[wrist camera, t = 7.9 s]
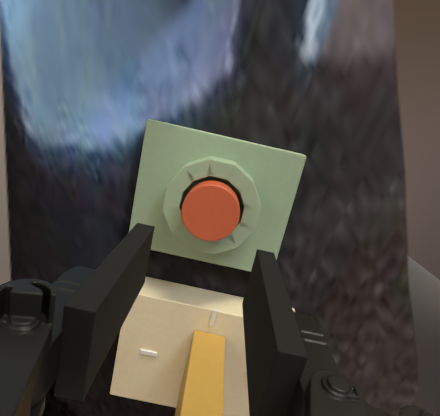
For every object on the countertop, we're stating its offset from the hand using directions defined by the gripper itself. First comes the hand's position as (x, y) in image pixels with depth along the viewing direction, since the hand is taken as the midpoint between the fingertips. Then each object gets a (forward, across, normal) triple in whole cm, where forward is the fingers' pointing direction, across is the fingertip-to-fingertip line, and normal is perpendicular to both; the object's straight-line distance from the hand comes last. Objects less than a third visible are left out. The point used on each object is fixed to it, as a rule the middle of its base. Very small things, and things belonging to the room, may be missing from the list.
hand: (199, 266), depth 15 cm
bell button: (+10, 0, 0) cm, 10 cm away
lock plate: (+13, +2, -13) cm, 18 cm away
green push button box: (+13, 0, 0) cm, 13 cm away
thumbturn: (+10, +2, -13) cm, 16 cm away
